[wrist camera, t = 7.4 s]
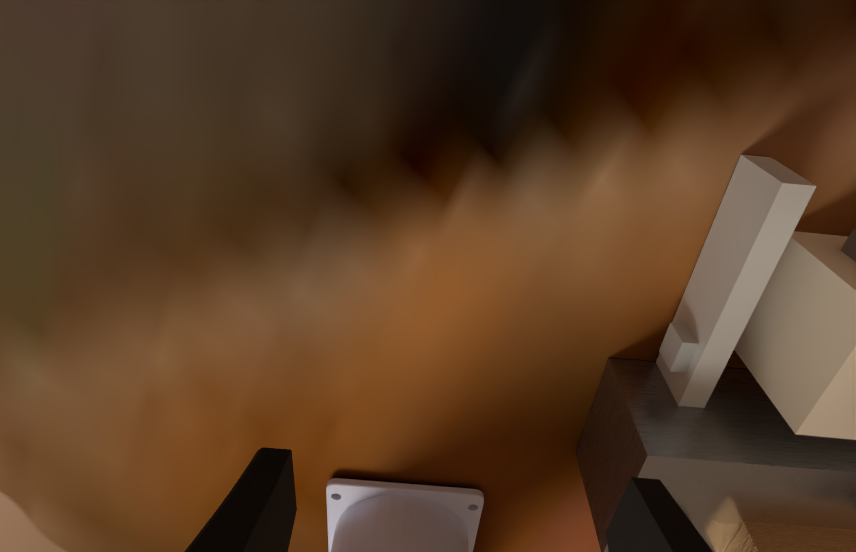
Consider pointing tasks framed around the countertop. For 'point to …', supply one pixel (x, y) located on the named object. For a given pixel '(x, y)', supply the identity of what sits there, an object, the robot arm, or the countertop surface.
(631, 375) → the block
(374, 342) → the countertop surface
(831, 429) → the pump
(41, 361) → the countertop surface
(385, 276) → the countertop surface
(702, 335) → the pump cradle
